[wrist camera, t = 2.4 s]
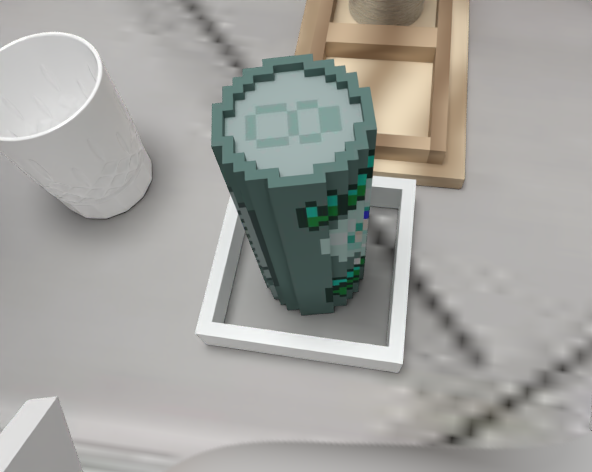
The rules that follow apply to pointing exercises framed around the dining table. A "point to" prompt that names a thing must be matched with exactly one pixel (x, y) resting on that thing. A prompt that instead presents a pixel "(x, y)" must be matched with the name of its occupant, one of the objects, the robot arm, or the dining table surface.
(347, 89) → the can
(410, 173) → the wooden tray
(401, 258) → the frame
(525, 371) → the dining table surface
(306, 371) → the dining table surface
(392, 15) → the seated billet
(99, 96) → the white cup
